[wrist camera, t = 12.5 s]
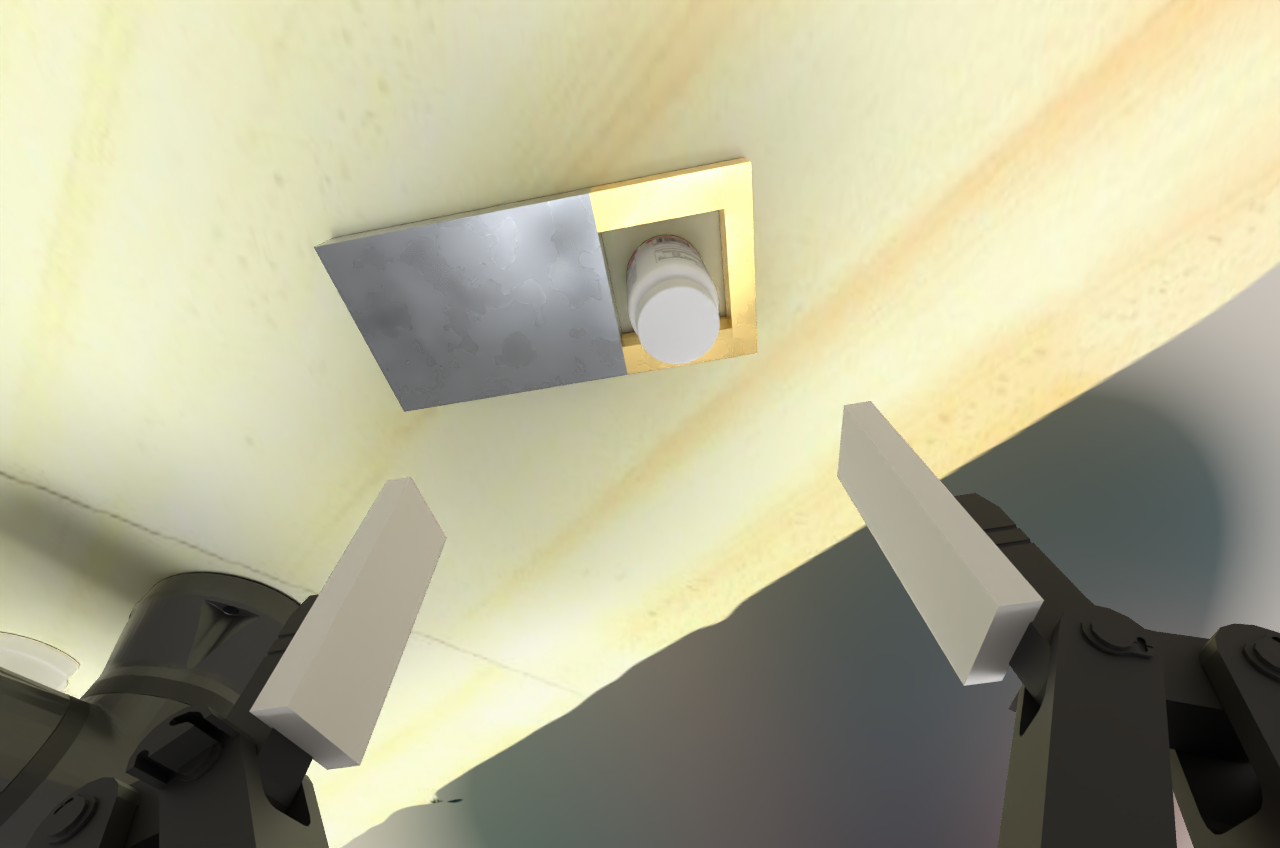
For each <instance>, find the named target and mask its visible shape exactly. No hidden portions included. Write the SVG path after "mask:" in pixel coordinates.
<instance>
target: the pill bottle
mask: <svg viewBox="0 0 1280 848" xmlns="http://www.w3.org/2000/svg"><path fill="white" fill-rule="evenodd" d="M627 293H628V313H629V318H630V322H631V325H632V327H633V329H634V331H635V332H636V334H637V335H638V337H639V340H640V343H641V344H642V346H643V348H644V349H645V350H646V352H647V353H648V354H649V355H651V356H652V357H653V358H655V359H657V360H658V361H661V362H664V363H668V364H684V363H689V362H692V361H694V360H696V359H698V358H700V357H701V356H703V355H704V354H705V353H706V352H707V351H709V350H710V348H711V347H712V346H713V344H714V342H715V341H716V338H717V336H718V333H719V328H720V317H719V313H718V310H719V300H718V294H717V291H716V288H715V285H714V283H713V281H712V279H711V277H710V275H709V273H708V271H707V269H706V267H705V265H704V263H703V261H702V259H701V257H700V255H699V254H698V252H697V251H696V249H695V248H694V247H693V246H692V245H691V244H690V243H688V242H687V241H685V240H684V239H682V238H679V237H676V236H671V235H662V236H657V237H654V238H651V239H649V240H647V241H646V242H644V243H643V244H642V245H640V246H639V247H638V248H637V250H636V251H635V252H634V254H633V255H632V257H631V259H630V262H629V265H628V269H627Z"/></svg>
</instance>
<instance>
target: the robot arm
mask: <svg viewBox="0 0 1280 848" xmlns="http://www.w3.org/2000/svg"><path fill="white" fill-rule="evenodd" d="M837 477H838V478H839V480H840V482H841V483H842V485H843V487H844V488H845V490H846V492H847V493H848V495H849V497H850V498H851V500H852V502H853V503H854V505H855V506H856V508H857V510H858V511H859V513H860V515H861V516H862V518H863V520H864V521H865V523H866V525H867V526H868V528H869V530H870V531H871V533H872V535H873V536H874V538H875V539H876V541H877V543H878V544H879V546H880V548H881V549H882V551H883V553H884V554H885V556H886V558H887V559H888V561H889V563H890V564H891V566H892V568H893V569H894V571H895V572H896V574H897V576H898V577H899V579H900V581H901V582H902V584H903V586H904V587H905V589H906V591H907V592H908V594H909V596H910V597H911V599H912V601H913V602H914V604H915V606H916V607H917V609H918V610H919V612H920V614H921V616H922V617H923V619H924V620H925V622H926V624H927V625H928V627H929V629H930V630H931V632H932V634H933V635H934V637H935V639H936V640H937V642H938V644H939V645H940V647H941V649H942V650H943V652H944V654H945V655H946V657H947V658H948V660H949V662H950V663H951V665H952V667H953V668H954V670H955V672H956V673H957V675H958V677H959V678H960V680H961V682H962V683H963V684H964V686H965V685H971V684H979V683H987V682H994V681H1001V680H1002V679H1003V677H1004V675H1005V674H1006V672H1007V670H1008V668H1009V666H1011V667H1012V669H1013V670H1014V672H1015V673H1016V674H1017V676H1018V677H1019V679H1020V680H1021V681H1022V685H1021V687H1020V689H1019V690H1018V692H1017V694H1016V696H1015V697H1014V699H1013V701H1012V703H1011V705H1010V707H1009V709H1010V710H1012V711H1014V712H1016V717H1015V725H1014V733H1013V739H1012V747H1011V754H1010V762H1009V768H1008V776H1007V783H1006V790H1005V798H1004V806H1003V812H1002V820H1001V827H1000V835H999V841H998V848H1177V843H1176V830H1175V816H1174V803H1173V792H1174V794H1175V797H1176V800H1177V803H1178V805H1179V808H1180V811H1181V813H1182V816H1183V819H1184V822H1185V825H1186V827H1187V830H1188V833H1189V835H1190V838H1191V841H1192V844H1193V846H1194V848H1280V633H1278V632H1275V631H1271V630H1268V629H1265V628H1262V627H1258V626H1255V625H1244V624H1231V625H1227V626H1224V627H1221V628H1220V629H1219V630H1218V631H1217V632H1216V633H1215V634H1214V635H1213V636H1212V637H1211V638H1210V639H1206V638H1198V637H1192V636H1184V635H1177V634H1170V633H1163V632H1156V631H1151V630H1147V629H1144V628H1143V627H1141V626H1140V625H1139V624H1137V623H1136V622H1134V621H1133V620H1132V619H1130V618H1129V617H1127V616H1125V615H1122V614H1120V613H1118V612H1116V611H1114V610H1111V609H1109V608H1104V607H1100V606H1096V605H1094V604H1093V603H1092V602H1091V601H1090V600H1088V599H1087V598H1086V597H1085V596H1084V595H1083V594H1082V593H1081V592H1080V591H1079V590H1078V589H1077V588H1076V587H1075V586H1074V584H1073V583H1072V582H1071V581H1070V580H1069V579H1068V578H1067V577H1066V576H1065V575H1064V574H1063V573H1062V572H1061V571H1060V570H1059V569H1058V568H1057V567H1056V566H1055V565H1054V564H1053V563H1052V562H1051V560H1050V559H1049V558H1048V557H1047V556H1046V555H1045V554H1044V553H1043V552H1042V551H1041V550H1040V549H1039V548H1038V547H1037V546H1036V545H1035V544H1034V543H1031V542H1030V539H1029V538H1028V537H1027V536H1026V534H1025V533H1024V532H1023V531H1022V530H1021V529H1020V528H1017V527H1016V524H1015V523H1014V522H1013V521H1012V520H1011V519H1010V518H1009V517H1008V516H1007V515H1006V514H1005V513H1004V512H1003V511H1002V510H1001V508H999V507H998V506H996V505H995V504H993V503H991V502H990V501H988V500H986V499H985V498H983V497H981V496H980V495H978V494H976V493H974V494H966V495H960V496H953V495H952V494H951V493H950V492H949V491H948V489H947V488H946V487H945V486H944V485H943V484H942V483H941V481H940V480H939V479H938V478H937V477H936V476H935V475H934V473H933V472H932V471H931V470H930V469H929V468H928V466H927V465H926V464H925V463H924V462H923V461H922V460H921V458H920V457H919V456H918V455H917V454H916V453H915V452H914V450H913V449H912V448H911V447H910V446H909V445H908V444H907V442H906V441H905V440H904V439H903V438H902V437H901V435H900V434H899V433H898V432H897V431H896V430H895V429H894V427H893V426H892V425H891V424H890V423H889V422H888V421H887V419H886V418H885V417H884V416H883V415H882V414H881V413H880V411H879V410H878V409H877V408H876V407H875V406H874V404H873V403H872V402H871V401H868V402H862V403H856V404H850V405H844V411H843V422H842V432H841V443H840V454H839V464H838V475H837ZM445 541H446V536H445V534H444V532H443V531H442V529H441V527H440V526H439V524H438V522H437V520H436V519H435V517H434V515H433V514H432V512H431V510H430V508H429V507H428V505H427V503H426V502H425V500H424V498H423V496H422V495H421V493H420V491H419V490H418V488H417V486H416V484H415V483H414V481H413V479H412V478H411V477H407V478H401V479H395V480H389V481H387V482H386V483H385V485H384V487H383V488H382V490H381V492H380V493H379V495H378V497H377V498H376V500H375V502H374V503H373V505H372V507H371V508H370V510H369V512H368V513H367V515H366V517H365V518H364V520H363V522H362V523H361V525H360V527H359V529H358V530H357V532H356V534H355V535H354V537H353V539H352V540H351V542H350V544H349V545H348V547H347V549H346V550H345V552H344V554H343V555H342V557H341V559H340V560H339V562H338V564H337V565H336V567H335V569H334V570H333V572H332V574H331V575H330V577H329V579H328V580H327V582H326V584H325V585H324V587H323V589H322V591H321V592H320V594H319V595H312V596H309V597H308V598H307V599H306V600H305V601H304V602H303V603H302V604H301V605H300V606H299V605H298V604H296V603H295V602H294V601H292V600H291V599H289V598H288V597H286V596H284V595H282V594H281V593H279V592H277V591H275V590H273V589H270V588H268V587H266V586H263V585H260V584H258V583H255V582H252V581H248V580H245V579H241V578H237V577H232V576H227V575H221V574H211V573H188V574H181V575H176V576H172V577H169V578H166V579H164V580H162V581H160V582H158V583H157V584H156V585H155V586H154V587H153V588H152V589H151V590H150V591H149V592H148V593H147V594H146V595H145V596H144V597H143V598H142V599H141V600H140V601H139V602H138V603H137V605H136V606H135V607H134V609H133V610H132V612H131V614H130V616H129V621H128V623H127V624H126V626H125V628H124V630H123V632H122V634H121V636H120V638H119V640H118V641H117V643H116V645H115V647H114V650H113V652H112V654H111V656H110V658H109V660H108V662H107V664H106V666H105V668H104V670H103V672H102V674H101V675H100V677H99V678H98V679H97V680H96V682H95V683H94V684H93V685H92V686H91V687H90V689H89V690H88V691H87V692H86V693H85V694H84V695H83V696H82V697H81V699H77V698H75V697H72V696H70V695H68V694H65V693H62V692H60V691H57V690H55V689H52V688H50V687H48V686H45V685H43V684H40V683H38V682H36V681H33V680H31V679H28V678H26V677H24V676H21V675H19V674H17V673H14V672H12V671H9V670H7V669H5V668H2V667H0V848H329V846H328V842H327V838H326V835H325V831H324V827H323V823H322V819H321V815H320V811H319V807H318V803H317V800H316V796H315V792H314V788H313V784H312V782H311V780H310V779H309V777H308V776H307V775H305V774H306V772H307V770H308V767H309V765H310V763H311V761H312V759H314V760H315V761H316V762H318V763H319V764H320V765H322V766H323V767H324V768H326V769H327V770H328V769H336V768H343V767H351V766H358V765H360V764H361V761H362V759H363V756H364V754H365V751H366V748H367V746H368V743H369V740H370V738H371V735H372V732H373V730H374V727H375V725H376V722H377V719H378V717H379V714H380V711H381V709H382V706H383V704H384V701H385V698H386V696H387V693H388V690H389V688H390V685H391V683H392V680H393V677H394V675H395V672H396V669H397V667H398V664H399V662H400V659H401V656H402V654H403V651H404V648H405V646H406V643H407V641H408V638H409V635H410V633H411V630H412V627H413V625H414V622H415V620H416V617H417V614H418V612H419V609H420V606H421V604H422V601H423V599H424V596H425V593H426V591H427V588H428V585H429V583H430V580H431V578H432V575H433V572H434V570H435V567H436V564H437V562H438V559H439V557H440V554H441V551H442V549H443V546H444V543H445ZM1172 789H1173V790H1172Z"/></svg>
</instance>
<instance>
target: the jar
mask: <svg viewBox="0 0 1280 848" xmlns="http://www.w3.org/2000/svg"><path fill="white" fill-rule="evenodd" d="M0 667H2V668H5V669H7V670H9V671H12V672H14V673H17V674H19V675H21V676H24V677H26V678H28V679H31V680H33V681H36V682H38V683H40V684H43V685H45V686H48V687H50V688H52V689H55V690H57V691H60V692H62V691H63V690H64V689H65V688H66V686H67V684H68V682H67V680H68V679H69V677H70V676H71V675H72V674H73V673H74V672H75V671H76V670H77V669H78V667H79V664H78V663H77V662H76V661H75V660H74V659H73V658H71V657H70V656H68V655H67V654H65V653H63V652H62V651H60V650H58V649H56V648H54V647H51V646H49V645H47V644H44V643H41V642H39V641H36V640H33V639H29V638H26V637H22V636H18V635H13V634H8V633H2V632H0Z"/></svg>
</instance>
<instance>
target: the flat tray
mask: <svg viewBox="0 0 1280 848" xmlns="http://www.w3.org/2000/svg"><path fill="white" fill-rule="evenodd" d="M715 210H719V216H720V231H721V245H722V259H723V273H724V288H725V302H726V316H724V317H720V328H719V333H718V336H717V338H716V341H715V342H714V344H713V346H712V347H711V348H710V350H709V351H707V352H706V353H705V354H704V355H703V356H701V357H700V358H698V359H696V360H694V361H692V362H689V363H684V364H668V363H664V362H661V361H658V360H657V359H655V358H653V357H652V356H651V355H649V354H648V353H647V352H646V350H645V349H644V348H643V346H642V344H641V343H640V340H639V337H638V335H637V334H636V332H631V333H626V334H622V332H621V327H620V322H619V317H618V313H617V308H616V303H615V298H614V293H613V289H612V284H611V279H610V274H609V269H608V265H607V260H606V255H605V250H604V246H603V241H602V236H601V232H604V231H609V230H615V229H620V228H625V227H630V226H636V225H641V224H646V223H651V222H657V221H662V220H667V219H673V218H678V217H683V216H688V215H694V214H699V213H704V212H710V211H715ZM314 248H315V250H316V252H317V254H318V256H319V257H320V259H321V261H322V263H323V265H324V266H325V268H326V270H327V272H328V274H329V276H330V277H331V279H332V281H333V283H334V285H335V286H336V288H337V290H338V292H339V294H340V296H341V297H342V299H343V301H344V303H345V305H346V306H347V308H348V310H349V312H350V314H351V316H352V317H353V319H354V321H355V323H356V325H357V326H358V328H359V330H360V332H361V334H362V336H363V337H364V339H365V341H366V343H367V345H368V346H369V348H370V350H371V352H372V354H373V356H374V357H375V359H376V361H377V363H378V365H379V366H380V368H381V370H382V372H383V374H384V376H385V377H386V379H387V381H388V383H389V385H390V386H391V388H392V390H393V392H394V394H395V396H396V397H397V399H398V401H399V403H400V405H401V406H402V408H403V410H404V412H405V411H411V410H417V409H423V408H429V407H435V406H441V405H447V404H453V403H459V402H465V401H471V400H477V399H483V398H489V397H495V396H501V395H507V394H513V393H519V392H525V391H531V390H537V389H543V388H549V387H555V386H561V385H567V384H573V383H579V382H585V381H591V380H597V379H603V378H610V377H616V376H622V375H628V374H634V373H640V372H646V371H652V370H658V369H664V368H670V367H676V366H682V365H688V364H694V363H700V362H706V361H712V360H718V359H724V358H730V357H736V356H742V355H748V354H754V353H757V327H756V296H755V265H754V234H753V203H752V172H751V161H749V160H747V159H745V158H738V159H733V160H728V161H723V162H717V163H712V164H707V165H702V166H697V167H692V168H687V169H682V170H677V171H672V172H667V173H662V174H657V175H651V176H646V177H641V178H636V179H631V180H626V181H621V182H616V183H611V184H606V185H601V186H596V187H590V188H585V189H580V190H575V191H570V192H565V193H560V194H555V195H550V196H545V197H540V198H535V199H529V200H524V201H519V202H514V203H509V204H504V205H499V206H494V207H489V208H484V209H479V210H474V211H469V212H463V213H458V214H453V215H448V216H443V217H438V218H433V219H428V220H423V221H418V222H413V223H408V224H402V225H397V226H392V227H387V228H382V229H377V230H372V231H367V232H362V233H357V234H352V235H347V236H341V237H336V238H332V239H330V240H328V241H326V242H324V243H322V244H320V245H317V246H315V247H314Z"/></svg>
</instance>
